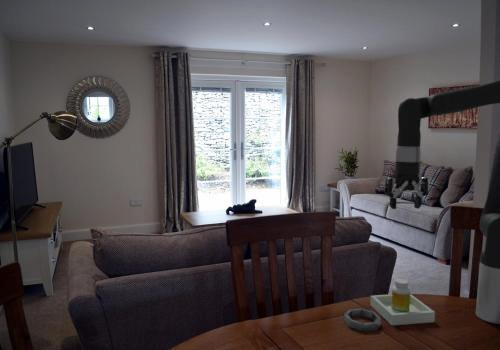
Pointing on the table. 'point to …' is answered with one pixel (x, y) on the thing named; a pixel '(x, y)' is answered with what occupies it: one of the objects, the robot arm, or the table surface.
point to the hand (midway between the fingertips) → (405, 208)
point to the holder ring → (359, 325)
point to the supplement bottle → (400, 296)
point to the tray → (415, 314)
